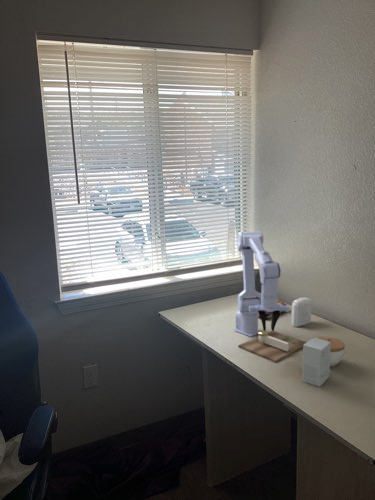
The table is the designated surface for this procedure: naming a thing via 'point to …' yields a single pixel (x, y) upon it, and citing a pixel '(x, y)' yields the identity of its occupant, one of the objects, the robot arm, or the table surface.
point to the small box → (316, 361)
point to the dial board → (272, 347)
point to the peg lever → (272, 341)
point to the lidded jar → (335, 350)
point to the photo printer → (301, 312)
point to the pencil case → (268, 314)
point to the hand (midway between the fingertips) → (268, 329)
